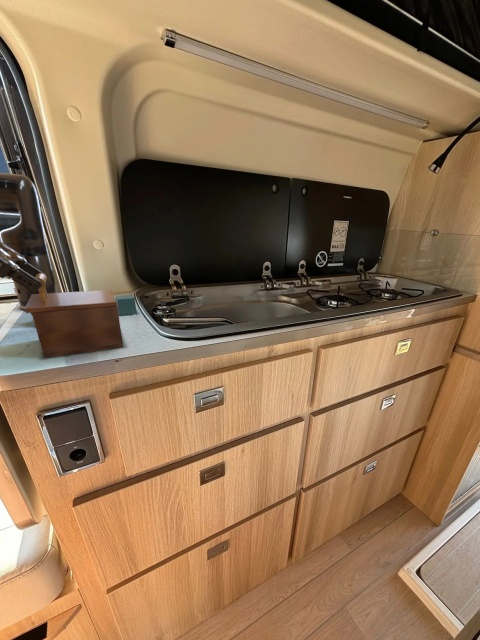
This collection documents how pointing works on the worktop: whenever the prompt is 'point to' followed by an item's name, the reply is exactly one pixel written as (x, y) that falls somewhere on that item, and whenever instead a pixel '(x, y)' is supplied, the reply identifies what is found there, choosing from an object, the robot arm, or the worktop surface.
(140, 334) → the worktop surface
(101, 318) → the chest
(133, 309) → the block
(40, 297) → the lid
